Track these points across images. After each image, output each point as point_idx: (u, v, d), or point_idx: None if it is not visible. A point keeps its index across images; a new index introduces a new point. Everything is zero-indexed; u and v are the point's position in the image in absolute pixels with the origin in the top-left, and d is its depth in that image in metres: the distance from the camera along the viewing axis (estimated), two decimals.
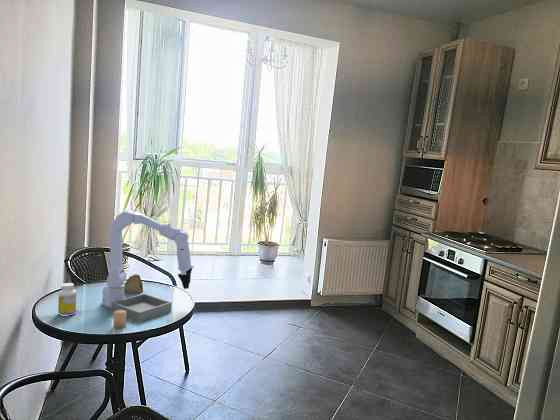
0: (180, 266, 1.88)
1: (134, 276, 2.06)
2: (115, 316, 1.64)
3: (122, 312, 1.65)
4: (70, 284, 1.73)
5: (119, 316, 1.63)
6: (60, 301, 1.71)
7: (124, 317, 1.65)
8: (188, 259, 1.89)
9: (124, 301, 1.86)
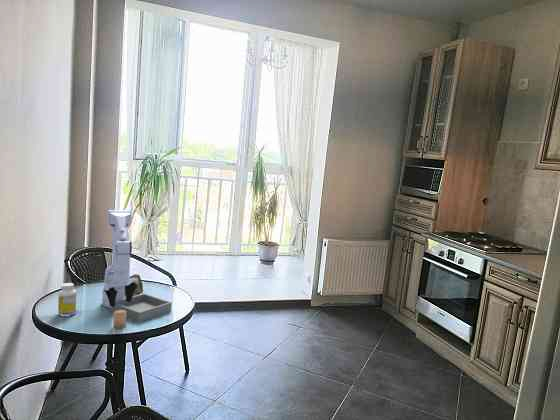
0: (113, 279, 1.63)
1: (134, 276, 2.06)
2: (115, 316, 1.64)
3: (122, 312, 1.65)
4: (70, 284, 1.73)
5: (119, 316, 1.63)
6: (60, 301, 1.71)
7: (124, 317, 1.65)
8: (121, 274, 1.61)
9: (124, 301, 1.86)
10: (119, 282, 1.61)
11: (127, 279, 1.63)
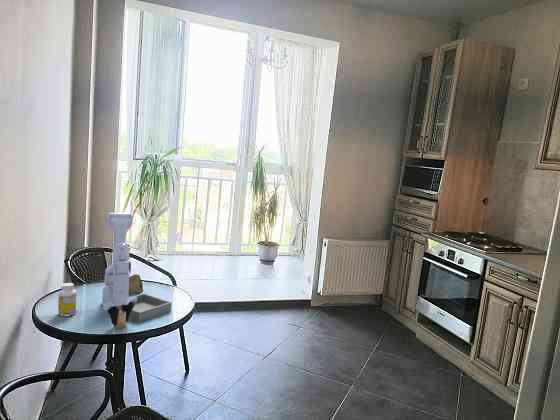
0: (113, 298, 1.64)
1: (134, 276, 2.06)
2: None
3: (122, 312, 1.65)
4: (70, 284, 1.73)
5: (119, 315, 1.63)
6: (60, 301, 1.71)
7: (124, 317, 1.65)
8: (120, 294, 1.62)
9: None
10: (118, 301, 1.62)
11: (126, 298, 1.64)
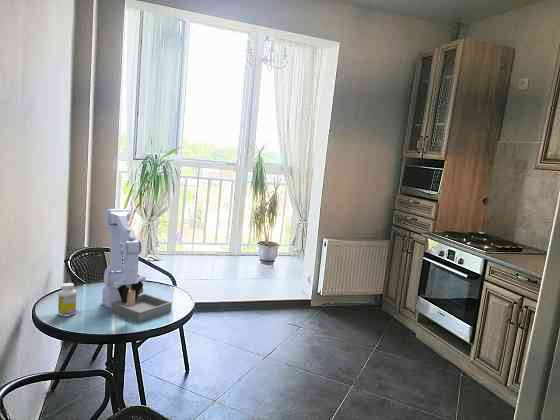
0: (123, 277, 1.69)
1: None
2: None
3: (131, 291, 1.71)
4: (70, 284, 1.73)
5: (129, 294, 1.69)
6: (60, 301, 1.71)
7: (133, 296, 1.70)
8: (130, 273, 1.68)
9: None
10: (128, 280, 1.68)
11: (136, 277, 1.70)
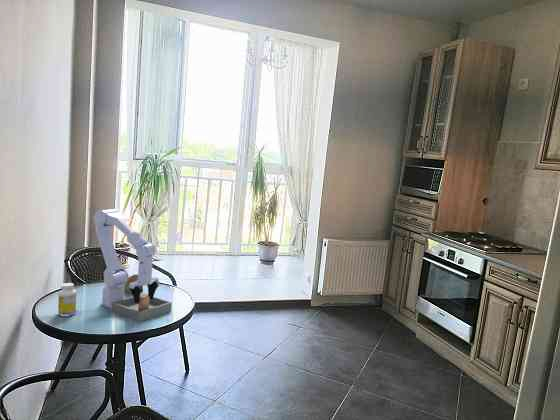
0: (138, 279, 1.81)
1: (134, 276, 2.06)
2: (140, 300, 1.81)
3: (146, 296, 1.82)
4: (70, 284, 1.73)
5: (143, 299, 1.81)
6: (60, 301, 1.71)
7: (148, 301, 1.82)
8: (145, 274, 1.79)
9: (124, 301, 1.86)
10: (143, 281, 1.79)
11: (150, 278, 1.81)
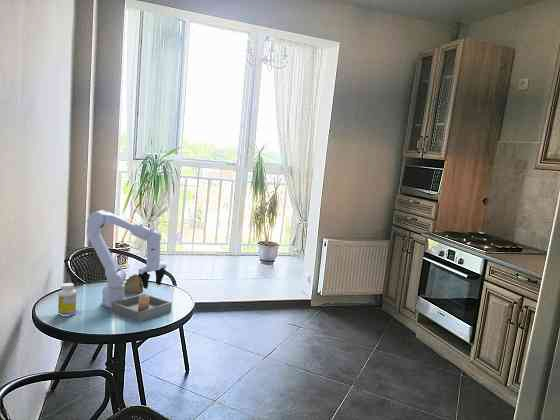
0: (146, 265, 1.88)
1: (134, 276, 2.06)
2: (140, 300, 1.81)
3: (146, 296, 1.82)
4: (70, 284, 1.73)
5: (144, 299, 1.81)
6: (60, 301, 1.71)
7: (148, 301, 1.82)
8: (153, 260, 1.86)
9: (124, 301, 1.86)
10: (151, 267, 1.86)
11: (158, 265, 1.88)
